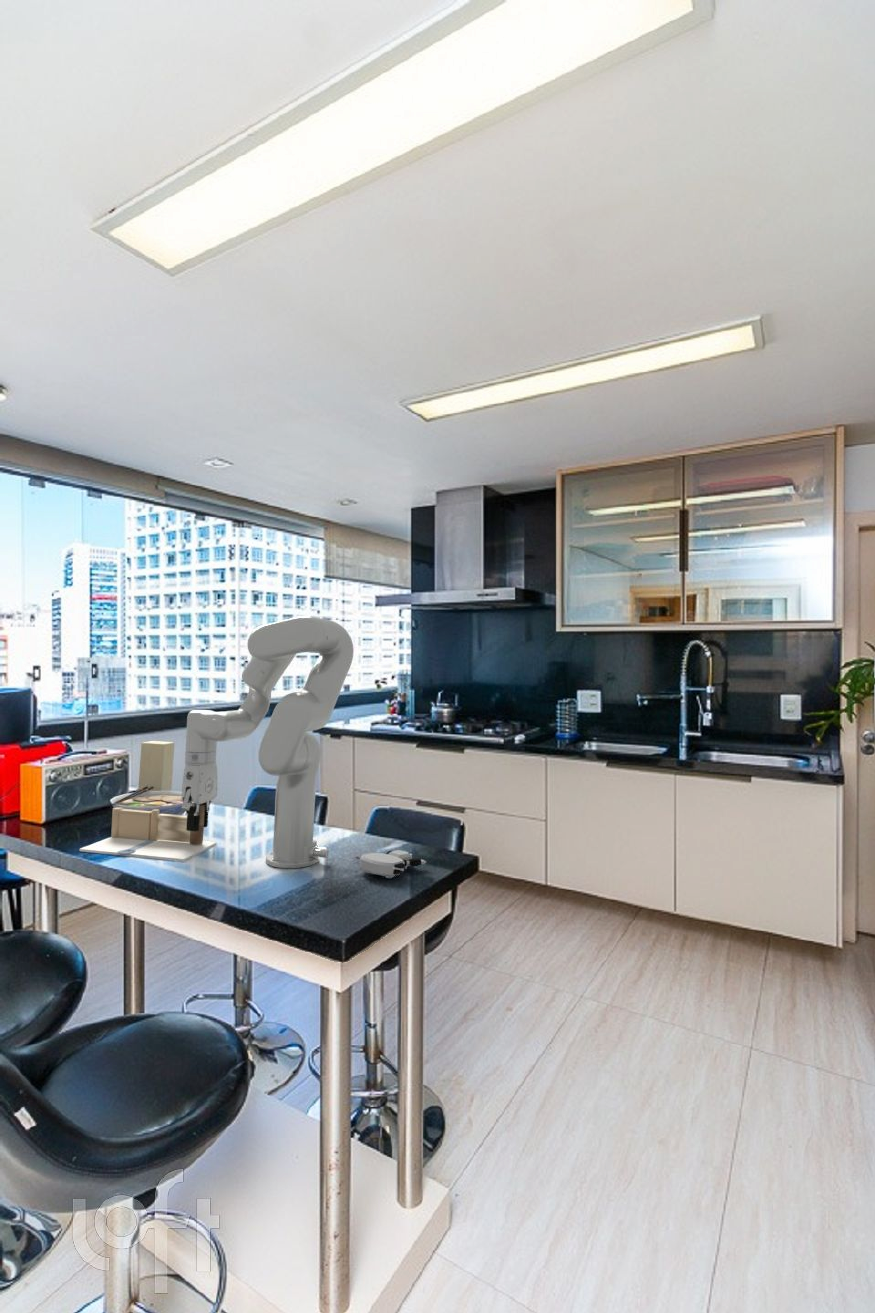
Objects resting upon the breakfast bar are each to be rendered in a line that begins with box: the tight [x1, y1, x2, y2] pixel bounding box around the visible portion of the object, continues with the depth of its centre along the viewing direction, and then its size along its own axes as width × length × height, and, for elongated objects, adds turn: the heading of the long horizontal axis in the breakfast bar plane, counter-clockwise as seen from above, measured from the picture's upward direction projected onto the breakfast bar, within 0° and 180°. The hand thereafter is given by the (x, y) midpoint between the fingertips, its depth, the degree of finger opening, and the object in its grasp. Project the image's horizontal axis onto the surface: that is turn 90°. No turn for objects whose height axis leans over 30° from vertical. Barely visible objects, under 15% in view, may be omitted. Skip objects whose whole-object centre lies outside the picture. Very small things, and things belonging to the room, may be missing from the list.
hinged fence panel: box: [157, 804, 205, 844], centre depth 159 cm, size 12×3×10 cm, turn 81°
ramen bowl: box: [108, 786, 194, 816], centre depth 179 cm, size 25×23×8 cm
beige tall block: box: [137, 740, 175, 791], centre depth 200 cm, size 8×7×21 cm
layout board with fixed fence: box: [79, 807, 218, 862], centre depth 155 cm, size 28×16×8 cm, turn 81°
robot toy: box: [352, 849, 427, 877], centre depth 145 cm, size 12×4×15 cm
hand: (197, 828), depth 159 cm, fingers open, 3 cm apart
